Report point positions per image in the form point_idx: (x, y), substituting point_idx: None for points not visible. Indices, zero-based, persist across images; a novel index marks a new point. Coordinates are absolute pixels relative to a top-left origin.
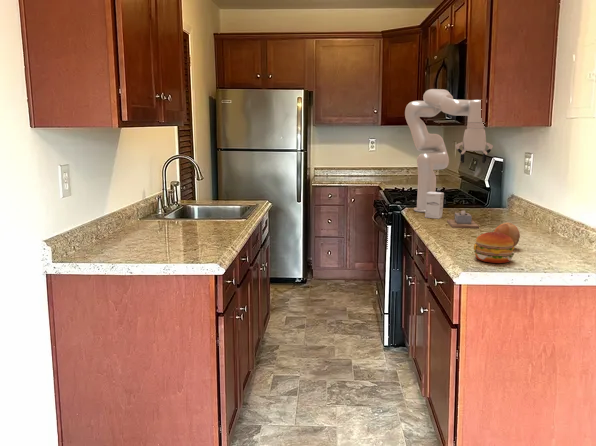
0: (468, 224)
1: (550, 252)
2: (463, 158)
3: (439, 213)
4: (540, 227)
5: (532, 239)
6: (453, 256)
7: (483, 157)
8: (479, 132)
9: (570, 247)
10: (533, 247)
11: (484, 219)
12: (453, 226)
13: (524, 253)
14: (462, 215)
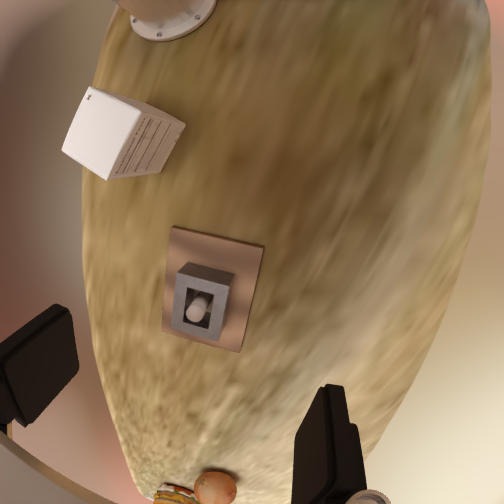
0: None
1: (277, 491)
2: (47, 396)
3: (152, 173)
4: (433, 340)
5: None
6: (138, 473)
7: (295, 487)
8: None
9: None
10: (270, 477)
11: (341, 189)
12: (166, 331)
13: None
14: (188, 330)
